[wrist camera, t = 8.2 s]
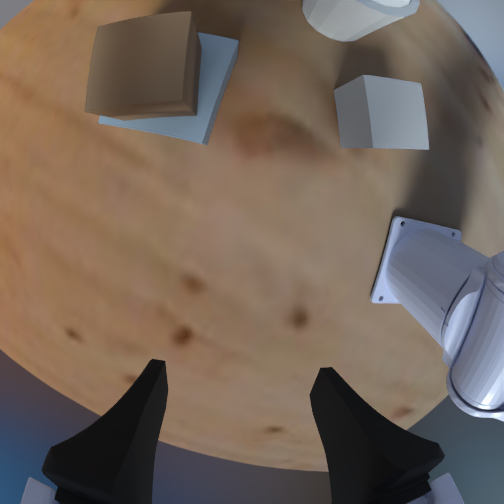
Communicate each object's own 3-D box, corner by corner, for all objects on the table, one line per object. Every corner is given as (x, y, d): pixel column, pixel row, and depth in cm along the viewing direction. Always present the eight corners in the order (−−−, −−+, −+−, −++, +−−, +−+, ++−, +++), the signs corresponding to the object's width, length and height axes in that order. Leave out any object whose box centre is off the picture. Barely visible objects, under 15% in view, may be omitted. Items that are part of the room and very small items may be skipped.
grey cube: (384, 94, 17) (421, 83, 12) (390, 147, 18) (429, 149, 14) (333, 90, 17) (363, 74, 12) (340, 148, 18) (373, 148, 13)
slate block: (237, 58, 16) (238, 40, 12) (207, 145, 18) (202, 143, 14) (148, 43, 14) (134, 26, 11) (118, 126, 17) (97, 123, 13)
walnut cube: (201, 48, 12) (191, 10, 8) (197, 115, 14) (181, 99, 9) (131, 55, 12) (97, 26, 7) (124, 120, 13) (84, 112, 9)
